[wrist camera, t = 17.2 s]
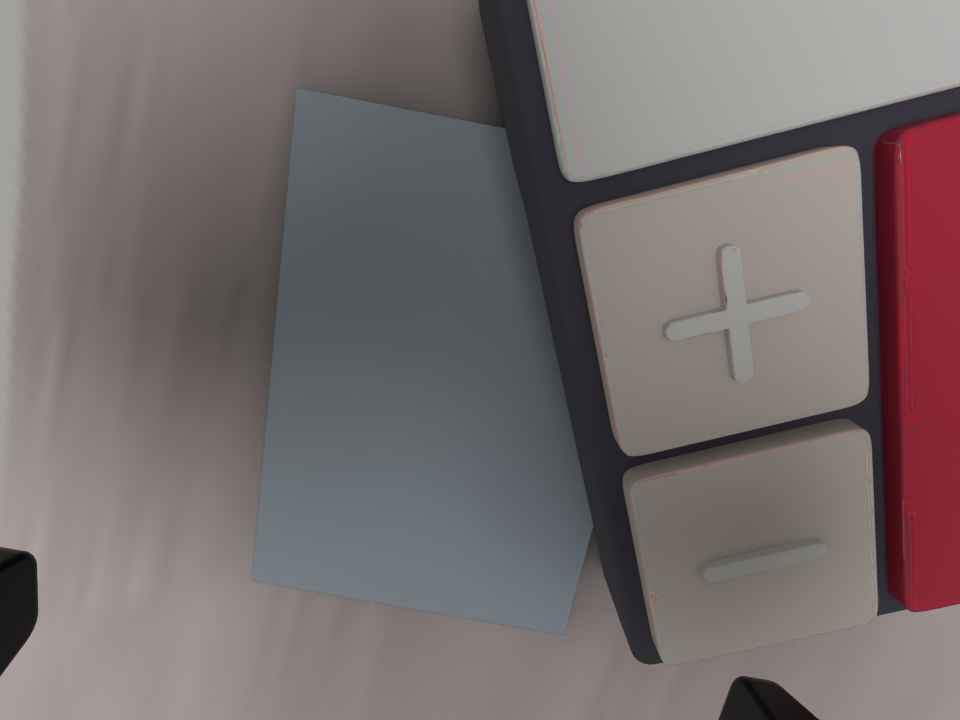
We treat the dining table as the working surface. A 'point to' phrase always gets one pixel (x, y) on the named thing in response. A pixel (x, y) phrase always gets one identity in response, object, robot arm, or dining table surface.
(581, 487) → the mat
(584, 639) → the dining table surface
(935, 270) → the calculator
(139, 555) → the dining table surface
